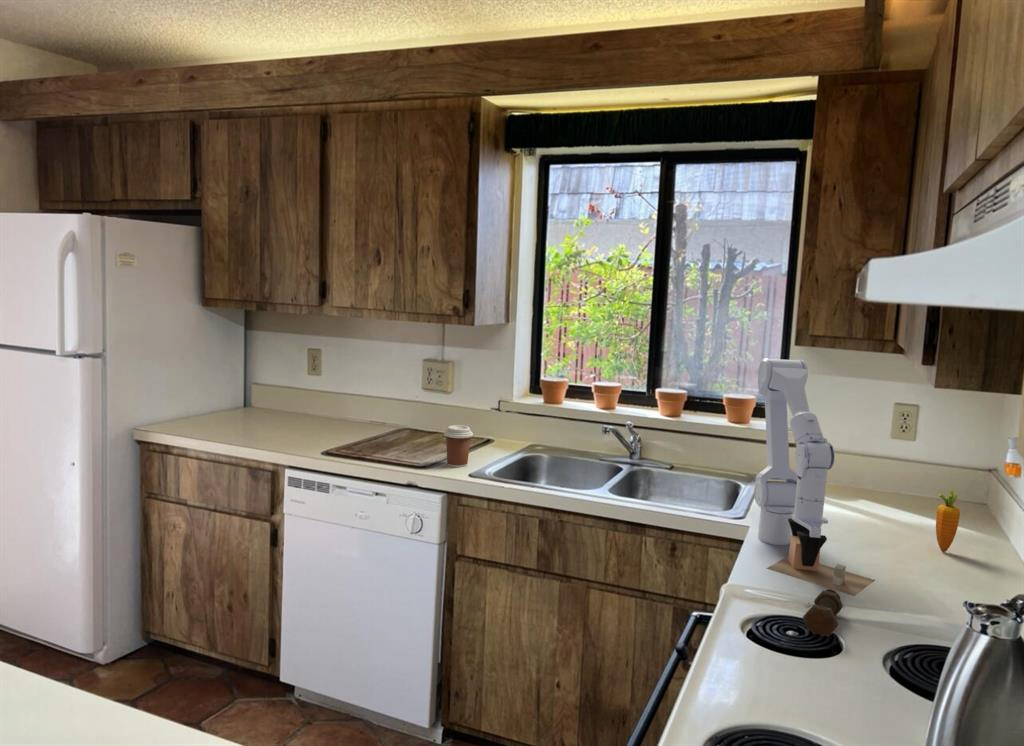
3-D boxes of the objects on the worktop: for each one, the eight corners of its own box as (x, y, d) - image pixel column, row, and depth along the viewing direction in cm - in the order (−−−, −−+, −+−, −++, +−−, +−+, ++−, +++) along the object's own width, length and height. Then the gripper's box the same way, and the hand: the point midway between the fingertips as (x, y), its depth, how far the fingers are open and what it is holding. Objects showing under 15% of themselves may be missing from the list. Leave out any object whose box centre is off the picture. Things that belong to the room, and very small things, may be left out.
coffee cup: (460, 460, 246) (462, 423, 245) (477, 466, 239) (479, 428, 237) (437, 463, 240) (438, 425, 239) (453, 469, 233) (454, 431, 232)
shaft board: (789, 561, 170) (791, 539, 170) (874, 586, 158) (876, 563, 158) (765, 574, 162) (768, 552, 161) (853, 602, 149) (856, 578, 149)
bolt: (833, 616, 147) (821, 644, 135) (811, 598, 149) (797, 624, 136) (852, 595, 146) (842, 621, 133) (829, 576, 147) (817, 601, 134)
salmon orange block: (788, 559, 167) (790, 534, 166) (812, 562, 166) (814, 537, 166) (793, 568, 162) (795, 542, 161) (817, 570, 161) (820, 544, 161)
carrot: (948, 557, 178) (956, 495, 176) (927, 550, 182) (934, 489, 180) (959, 554, 181) (967, 492, 179) (938, 547, 185) (946, 487, 183)
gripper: (839, 509, 155) (832, 573, 156) (821, 490, 169) (814, 549, 171) (802, 506, 156) (796, 570, 157) (787, 487, 170) (781, 545, 172)
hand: (803, 559), depth 164 cm, fingers open, 7 cm apart
